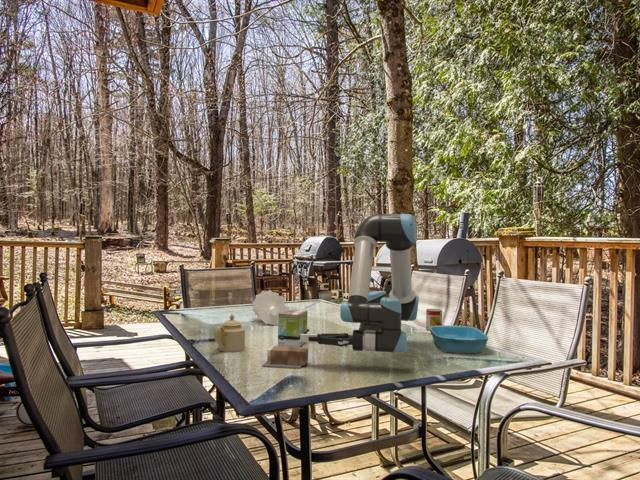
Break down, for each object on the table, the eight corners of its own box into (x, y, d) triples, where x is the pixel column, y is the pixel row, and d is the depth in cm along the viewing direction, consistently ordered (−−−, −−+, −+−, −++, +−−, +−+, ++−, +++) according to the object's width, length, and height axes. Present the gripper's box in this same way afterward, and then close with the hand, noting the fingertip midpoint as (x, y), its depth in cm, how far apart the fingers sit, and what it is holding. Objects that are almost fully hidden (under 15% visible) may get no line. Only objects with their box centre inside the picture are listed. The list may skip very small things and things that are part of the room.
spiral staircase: (266, 333, 255) (258, 323, 279) (295, 318, 259) (285, 310, 283) (252, 304, 252) (245, 296, 276) (281, 289, 256) (272, 283, 280)
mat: (306, 360, 182) (306, 359, 182) (299, 368, 170) (300, 367, 170) (271, 358, 184) (271, 357, 184) (262, 366, 172) (262, 365, 172)
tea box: (299, 348, 203) (299, 314, 203) (277, 347, 205) (277, 313, 205) (307, 341, 218) (307, 309, 218) (286, 340, 220) (286, 308, 220)
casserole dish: (426, 337, 231) (427, 323, 231) (473, 339, 228) (473, 324, 228) (438, 355, 194) (438, 338, 194) (494, 357, 192) (494, 340, 192)
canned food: (444, 334, 239) (445, 310, 239) (431, 334, 237) (431, 311, 237) (436, 331, 247) (437, 308, 247) (423, 332, 244) (423, 308, 244)
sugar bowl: (240, 354, 191) (240, 317, 191) (213, 354, 191) (213, 317, 191) (246, 346, 206) (247, 312, 206) (221, 346, 206) (222, 311, 206)
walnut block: (308, 347, 179) (272, 345, 182) (304, 351, 172) (267, 349, 175) (307, 360, 179) (272, 359, 182) (304, 365, 172) (267, 363, 175)
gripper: (362, 354, 166) (296, 351, 170) (364, 346, 179) (303, 344, 183) (362, 333, 166) (297, 330, 170) (365, 327, 179) (304, 324, 183)
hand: (300, 337), depth 176 cm, fingers closed
